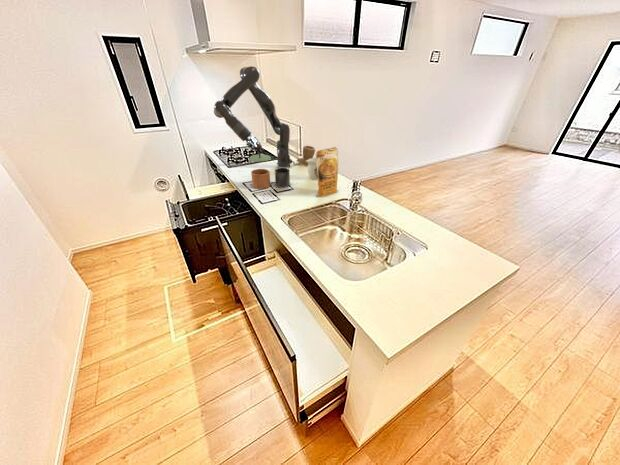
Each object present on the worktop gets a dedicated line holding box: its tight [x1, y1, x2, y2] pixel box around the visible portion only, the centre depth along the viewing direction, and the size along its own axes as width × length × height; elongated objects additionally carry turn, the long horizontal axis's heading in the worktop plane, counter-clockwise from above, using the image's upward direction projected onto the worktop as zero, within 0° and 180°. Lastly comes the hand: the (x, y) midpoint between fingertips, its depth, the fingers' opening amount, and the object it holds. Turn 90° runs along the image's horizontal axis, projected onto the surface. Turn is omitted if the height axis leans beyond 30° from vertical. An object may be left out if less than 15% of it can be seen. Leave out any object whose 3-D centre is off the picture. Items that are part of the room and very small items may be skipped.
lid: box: [248, 143, 272, 163], centre depth 162 cm, size 14×14×10 cm
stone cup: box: [296, 145, 316, 167], centre depth 211 cm, size 15×12×15 cm
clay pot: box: [250, 168, 271, 190], centre depth 171 cm, size 12×12×10 cm
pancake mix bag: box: [315, 146, 339, 198], centre depth 158 cm, size 7×19×28 cm, turn 127°
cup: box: [274, 167, 291, 188], centre depth 173 cm, size 10×10×10 cm
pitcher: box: [306, 157, 318, 181], centre depth 185 cm, size 11×18×14 cm, turn 124°
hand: (262, 152), depth 162 cm, fingers closed on lid, 3 cm apart
